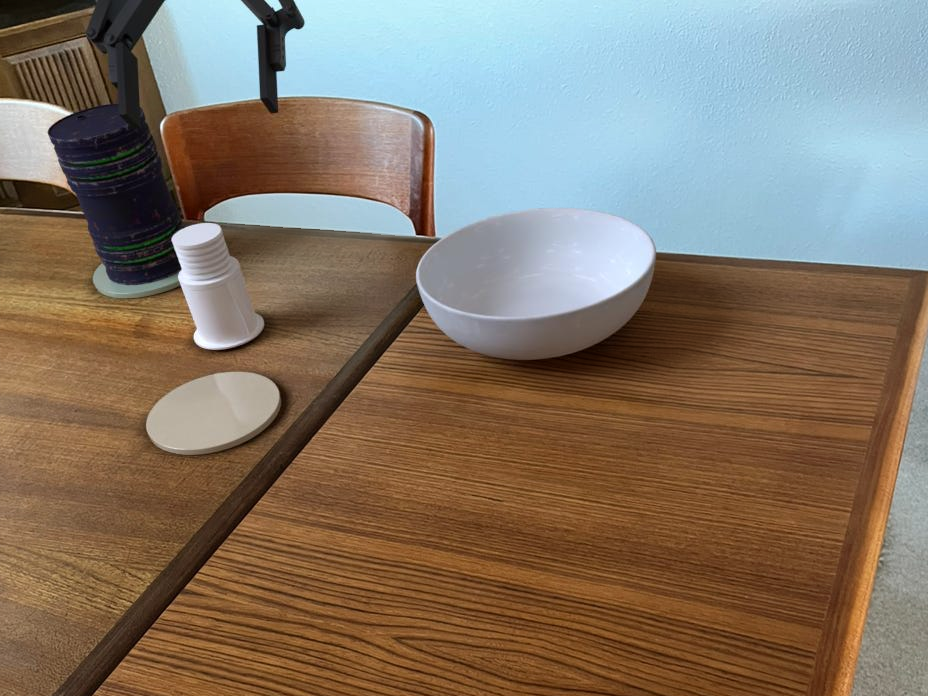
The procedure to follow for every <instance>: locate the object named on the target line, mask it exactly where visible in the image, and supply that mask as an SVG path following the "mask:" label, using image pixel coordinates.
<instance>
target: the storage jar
mask: <svg viewBox="0 0 928 696" xmlns="http://www.w3.org/2000/svg"><path fill="white" fill-rule="evenodd" d="M140 118H141V129H133V128H132V127H131V126H130V125H129V124H128V123H127V122H126V121H125V120H124V119H122V118H121V117H120V116H119V102H117V103H108V104H102V105H95V106H91V107H89V108H88V107H87V108H84V109H82V110H78V111H76V112H73V113H70V114H69V115H65V116H64V117H61V118H60V119H58V120H57V121H55V122H54V123H53V124H51V125H50V126H49V127H48V129H47V136H48V138H49V140H50V143H51V144H52V145H53V149H54V152H55V154H56V157H57V162H58V164H59V166H60V168H61V172H63V174H64V176H65V178H66V183H67V185H68V186H69V188H70V191H71V192H72V193H74V195H75V196H76V198H77V201H78V203H79V206H80V207H81V211H82V212H83V215H84V217H85V220H86V222H87V230H88V233H89V235H90V238H91V240H92V245H93V247H94V249H95V251H96V255H97V256H98V257H99V258H100V260H101V264H102V263H103V265H104V266H105V267H106V273H107V275H108V278H109V279H110V280H111V281H112V282H114V283H117V284H121V285H142V284H147V283H152V282H156V281H159V280H162V279H165V278H167V277H170V276H172V275H174V274H176V273H178V272H179V271H181V270H182V268H181V265H180V262H179V260H178V257H177V254H176V251H175V249H174V245H173V243H172V237H173V235H174V234H175V233H177V232H178V231H180V230H181V229H183V228H186V227H185V223H184V221H183V219H182V217H181V215H180V211H179V209H178V206H177V204H176V202H175V201H173V199H172V196H171V193H170V190H169V187H168V185H167V182H166V179H165V175H164V174H163V170H162V169H163V164H162V163H163V162H162V158H161V156H160V155H159V152H158V148H157V147H158V146H157V144H156V140H155V138H154V135H153V134H152V133H151V129H150V126H149V124H148V123H147V121H146V115H145V112H144V109H143V107H142V106H140Z"/></svg>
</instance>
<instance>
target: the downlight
mask: <svg viewBox="0 0 928 696" xmlns="http://www.w3.org/2000/svg"><path fill="white" fill-rule="evenodd" d="M172 243H173V245H174V249H175V251H176V254H177V257H178V260H179V262H180V265H181V268H182V270H181V271H180V272H179V274H178V279H179V282H180V284H181V285H180V287H181V289H182V292H183V295H184V298H185V300H186V303H187V306H188V308H189V311H190V314H191V317H192V319H193V322H194V325H195V328H196V330H195V331H194V333H193V341H194V343H195V344H196V345H197V346H198V347H200V348H202V349H206V350H212V351H213V350H214V351H219V350H227V349H228V350H229V349H232V348H233V349H234V348H236V347H239V346H241V345H245V344H246V343H249V342H250V341H252V340H254V339H255V338H257V337H258V336H259V335H260V334H261V333H262V331H263V330H264V327H265V321H264V318H263V317H262V316H261V315H260V314H258V313H256V312H255V310H254V307H253V302H252V300H251V296H250V293H249V290H248V287H247V284H246V281H245V278H244V274H243V271H242V268H241V264H240V262H239V259H237V258H235V257H234V256H230V255H231V254H230V252H229V249H228V246H227V243H226V239H225V236H224V234H223V230H222V227H221V226H220V225H219V224H217V223H213V222H202V223H196V224H191V225H189V226H186V227H185V228H183V229H181V230H180V231H178V232H177V233H175V234H174V235H173V237H172Z"/></svg>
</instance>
